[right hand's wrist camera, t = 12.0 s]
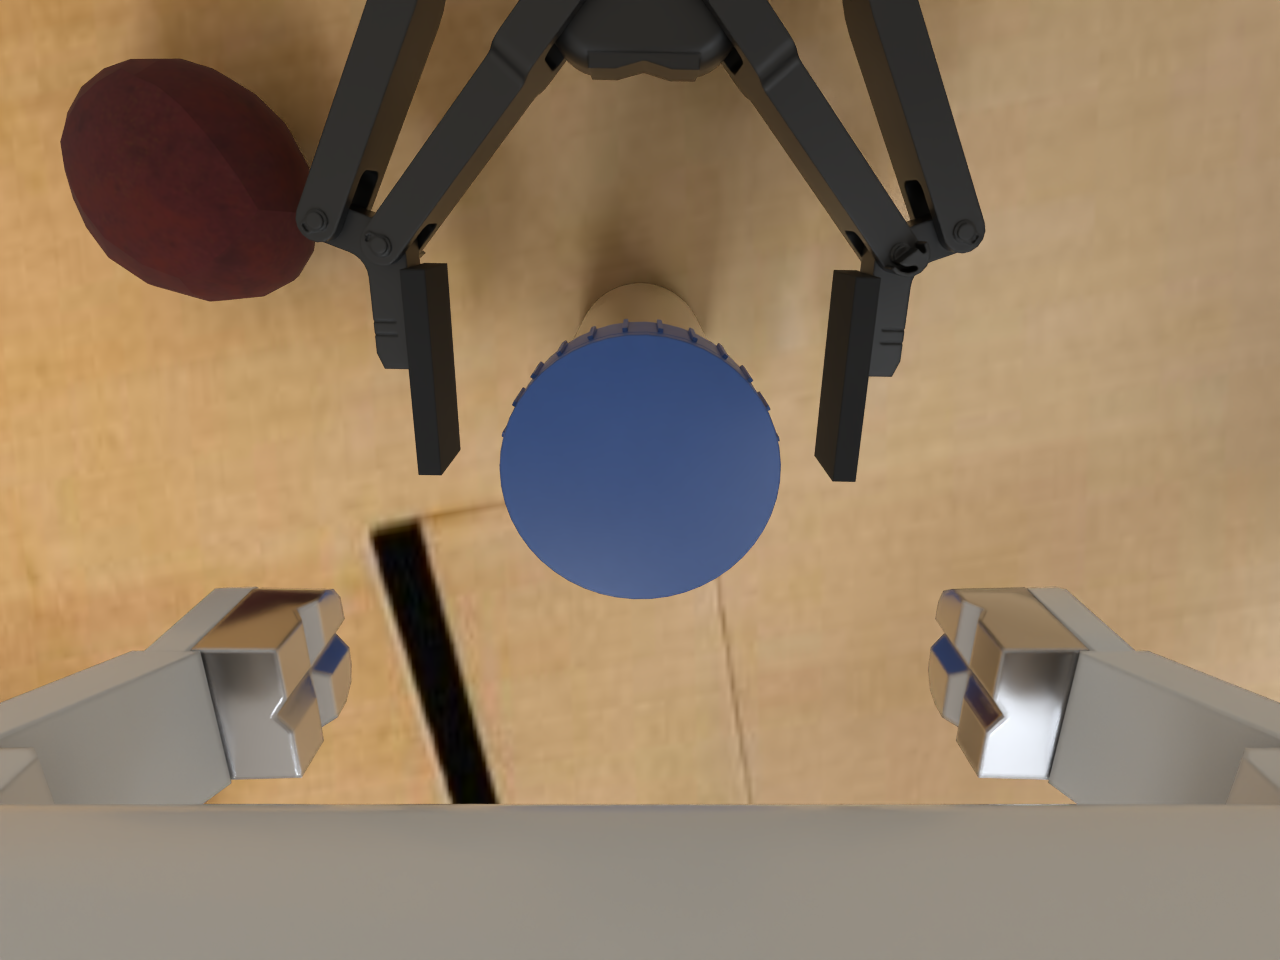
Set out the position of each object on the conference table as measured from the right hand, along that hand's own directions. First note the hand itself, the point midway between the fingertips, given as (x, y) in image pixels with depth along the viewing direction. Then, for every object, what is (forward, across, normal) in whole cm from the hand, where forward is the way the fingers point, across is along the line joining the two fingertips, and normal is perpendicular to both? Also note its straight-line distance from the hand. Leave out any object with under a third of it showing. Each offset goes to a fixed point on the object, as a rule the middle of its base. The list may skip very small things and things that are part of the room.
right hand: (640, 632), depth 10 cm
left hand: (+15, 0, -3) cm, 16 cm away
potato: (+22, -15, +6) cm, 27 cm away
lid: (+6, 0, 0) cm, 6 cm away
